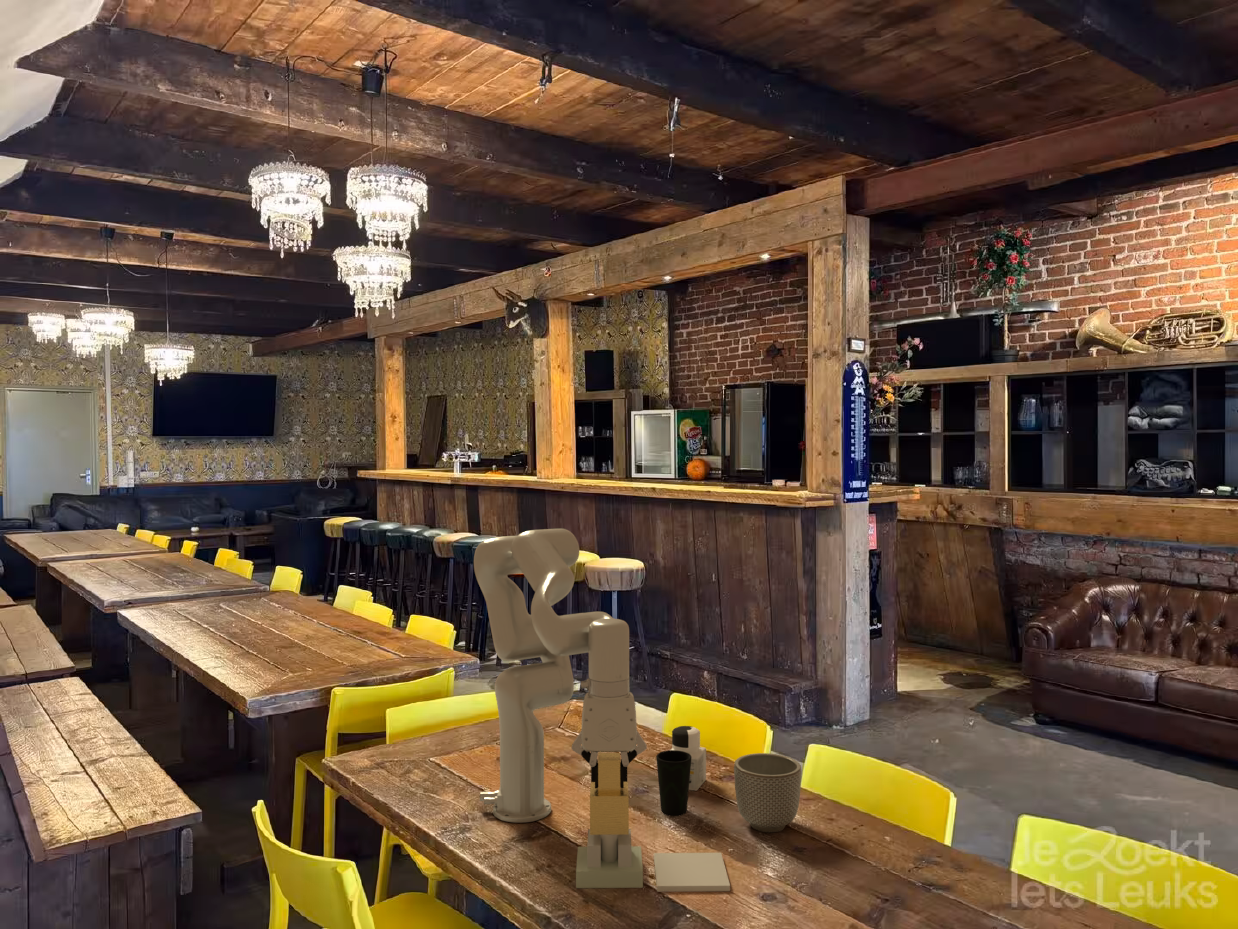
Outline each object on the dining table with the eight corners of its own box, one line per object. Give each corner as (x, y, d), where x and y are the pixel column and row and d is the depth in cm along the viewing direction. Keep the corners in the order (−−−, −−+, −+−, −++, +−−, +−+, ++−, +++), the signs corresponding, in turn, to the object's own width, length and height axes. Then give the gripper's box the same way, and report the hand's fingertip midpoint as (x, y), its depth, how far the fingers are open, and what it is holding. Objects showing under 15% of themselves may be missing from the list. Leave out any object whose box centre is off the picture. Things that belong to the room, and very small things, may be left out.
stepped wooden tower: (590, 834, 162) (589, 763, 162) (590, 818, 169) (590, 750, 169) (628, 834, 162) (628, 763, 162) (627, 818, 169) (627, 750, 169)
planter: (786, 846, 178) (786, 781, 178) (722, 830, 185) (722, 768, 185) (811, 821, 190) (811, 760, 189) (750, 807, 197) (750, 748, 197)
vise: (576, 888, 161) (575, 805, 161) (578, 862, 171) (577, 784, 171) (642, 887, 161) (642, 804, 161) (640, 862, 171) (640, 784, 171)
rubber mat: (657, 891, 160) (657, 886, 160) (653, 858, 173) (653, 853, 173) (730, 891, 160) (730, 885, 160) (721, 857, 173) (721, 852, 173)
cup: (689, 819, 191) (689, 763, 190) (653, 816, 192) (653, 761, 192) (693, 805, 198) (693, 751, 198) (659, 802, 200) (659, 749, 199)
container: (665, 786, 209) (665, 731, 209) (675, 775, 216) (675, 722, 216) (696, 791, 206) (696, 735, 206) (706, 780, 213) (706, 725, 213)
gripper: (562, 692, 161) (562, 793, 162) (655, 692, 162) (655, 793, 162) (564, 682, 169) (565, 778, 169) (653, 681, 169) (653, 778, 170)
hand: (609, 784), depth 166 cm, fingers closed on stepped wooden tower, 4 cm apart
